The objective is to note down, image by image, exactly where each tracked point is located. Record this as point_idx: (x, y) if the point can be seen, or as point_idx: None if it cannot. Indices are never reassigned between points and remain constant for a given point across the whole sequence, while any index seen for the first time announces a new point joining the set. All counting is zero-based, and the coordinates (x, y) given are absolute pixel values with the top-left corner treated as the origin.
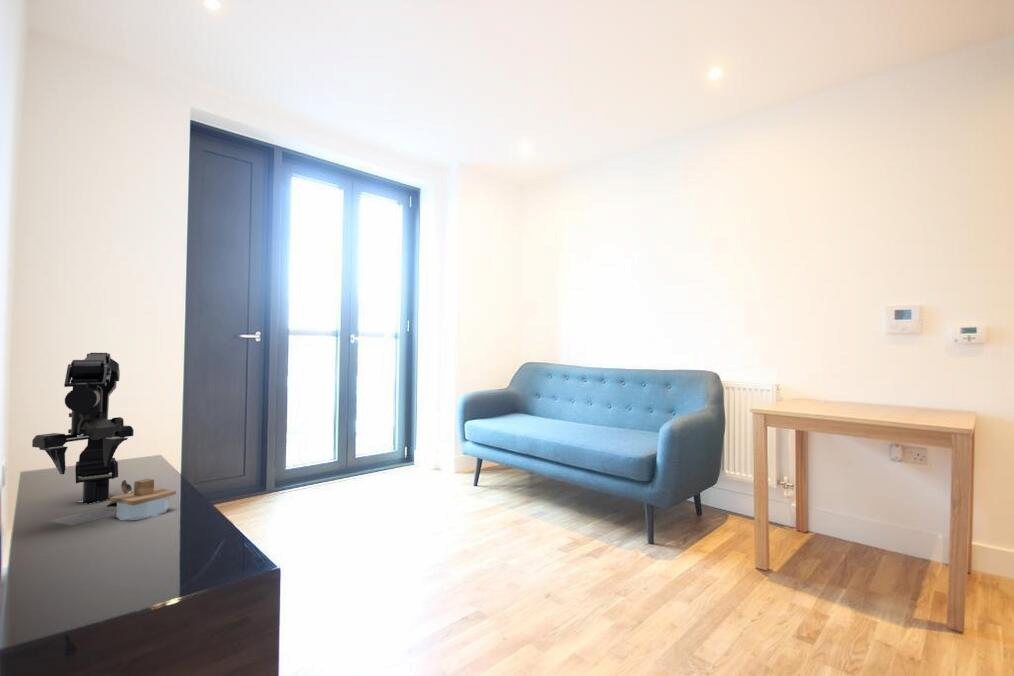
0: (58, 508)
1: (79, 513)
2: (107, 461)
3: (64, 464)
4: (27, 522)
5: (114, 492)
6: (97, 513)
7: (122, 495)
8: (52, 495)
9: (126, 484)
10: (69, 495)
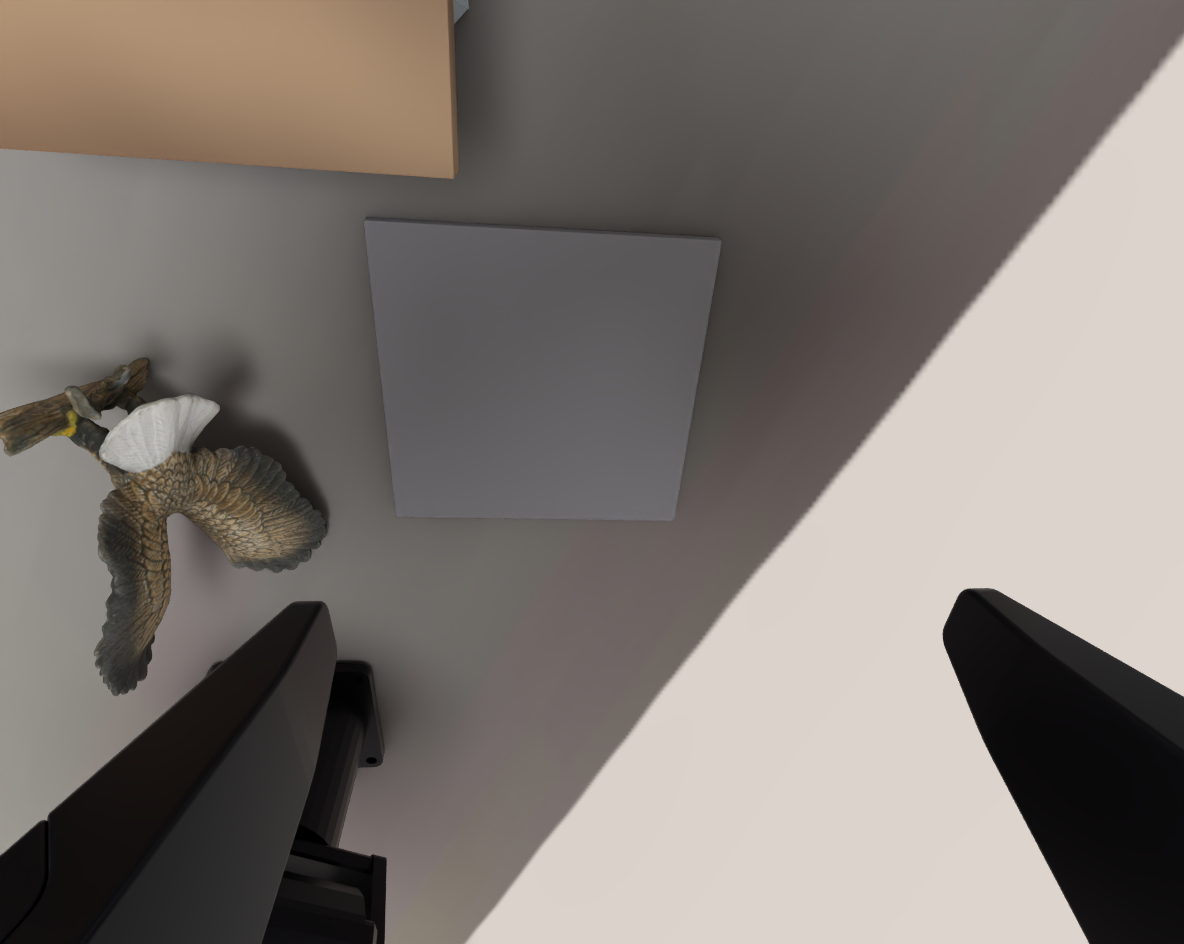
0: (480, 733)
1: (507, 513)
2: (292, 659)
3: (1125, 707)
4: (696, 620)
5: None
6: (453, 393)
7: (330, 108)
8: None
9: (120, 581)
10: None
